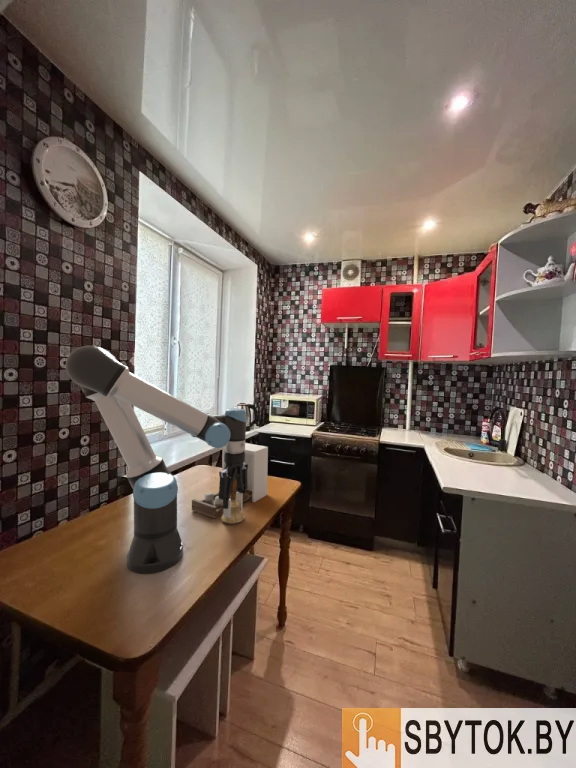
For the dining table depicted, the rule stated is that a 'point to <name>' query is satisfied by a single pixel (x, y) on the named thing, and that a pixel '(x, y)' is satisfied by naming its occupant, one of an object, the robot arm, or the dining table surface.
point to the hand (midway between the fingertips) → (233, 513)
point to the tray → (210, 507)
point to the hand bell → (234, 508)
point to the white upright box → (254, 469)
